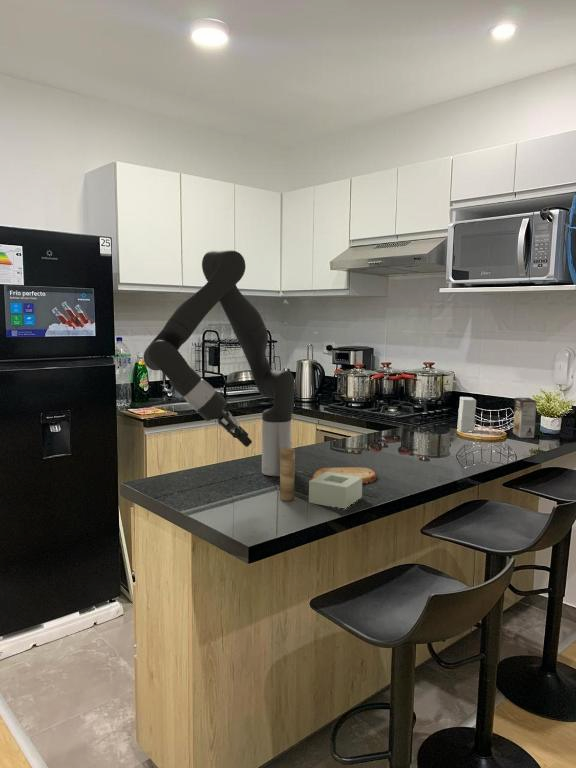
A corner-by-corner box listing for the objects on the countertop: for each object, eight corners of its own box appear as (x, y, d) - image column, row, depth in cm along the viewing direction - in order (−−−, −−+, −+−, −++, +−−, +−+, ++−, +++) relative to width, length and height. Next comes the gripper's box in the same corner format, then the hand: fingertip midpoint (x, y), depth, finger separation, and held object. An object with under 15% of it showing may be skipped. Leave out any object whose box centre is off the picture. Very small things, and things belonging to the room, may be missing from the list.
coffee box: (511, 433, 255) (514, 397, 253) (526, 433, 255) (529, 397, 253) (519, 437, 246) (522, 400, 244) (534, 438, 246) (537, 400, 244)
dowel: (284, 495, 163) (285, 447, 161) (296, 498, 161) (297, 448, 159) (277, 499, 159) (277, 449, 157) (289, 502, 157) (290, 451, 156)
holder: (326, 491, 167) (326, 471, 166) (361, 498, 161) (362, 477, 161) (308, 502, 157) (309, 480, 156) (345, 509, 152) (346, 487, 151)
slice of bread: (379, 476, 185) (380, 465, 184) (365, 492, 168) (365, 479, 168) (326, 470, 191) (326, 459, 191) (307, 484, 175) (307, 472, 174)
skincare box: (456, 428, 263) (458, 396, 261) (470, 429, 263) (472, 396, 261) (460, 432, 255) (462, 399, 253) (474, 432, 255) (476, 399, 253)
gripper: (216, 393, 146) (261, 436, 149) (213, 386, 160) (254, 425, 163) (195, 414, 145) (240, 457, 149) (194, 405, 159) (235, 444, 163)
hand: (247, 440), depth 156 cm, fingers open, 8 cm apart
